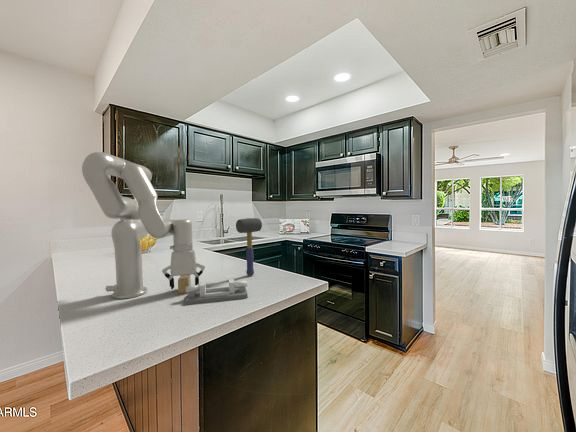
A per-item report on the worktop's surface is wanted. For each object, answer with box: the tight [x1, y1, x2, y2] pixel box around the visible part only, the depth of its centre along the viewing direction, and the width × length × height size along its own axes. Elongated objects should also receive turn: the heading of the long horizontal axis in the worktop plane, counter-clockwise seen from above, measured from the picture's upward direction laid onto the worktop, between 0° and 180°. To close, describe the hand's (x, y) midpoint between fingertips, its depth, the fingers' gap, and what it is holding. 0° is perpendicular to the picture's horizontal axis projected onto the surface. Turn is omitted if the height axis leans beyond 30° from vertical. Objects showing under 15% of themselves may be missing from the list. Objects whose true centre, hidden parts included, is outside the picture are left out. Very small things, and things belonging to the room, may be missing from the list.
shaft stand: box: [184, 278, 249, 305], centre depth 103 cm, size 24×10×6 cm, turn 104°
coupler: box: [177, 275, 192, 295], centre depth 111 cm, size 8×4×6 cm, turn 14°
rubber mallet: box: [235, 217, 263, 277], centre depth 132 cm, size 12×8×30 cm, turn 131°
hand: (184, 287), depth 111 cm, fingers open, 9 cm apart
